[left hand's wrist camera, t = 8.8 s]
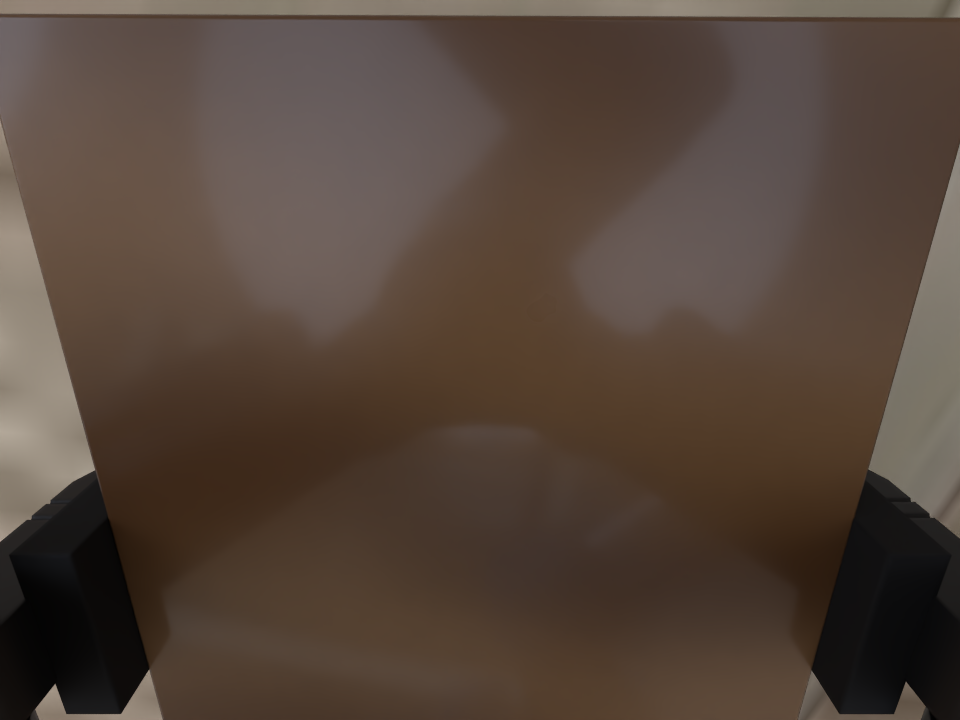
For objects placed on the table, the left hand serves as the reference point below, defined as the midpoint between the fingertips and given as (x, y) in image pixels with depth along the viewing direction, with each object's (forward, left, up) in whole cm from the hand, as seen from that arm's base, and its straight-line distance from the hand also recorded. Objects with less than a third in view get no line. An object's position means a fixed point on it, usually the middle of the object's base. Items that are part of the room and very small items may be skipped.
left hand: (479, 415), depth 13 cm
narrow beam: (+2, +21, -1) cm, 21 cm away
